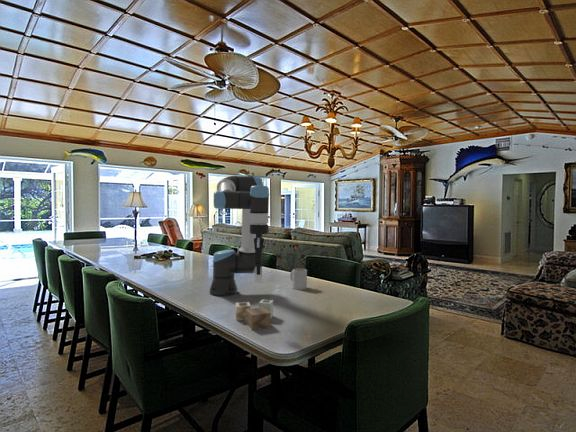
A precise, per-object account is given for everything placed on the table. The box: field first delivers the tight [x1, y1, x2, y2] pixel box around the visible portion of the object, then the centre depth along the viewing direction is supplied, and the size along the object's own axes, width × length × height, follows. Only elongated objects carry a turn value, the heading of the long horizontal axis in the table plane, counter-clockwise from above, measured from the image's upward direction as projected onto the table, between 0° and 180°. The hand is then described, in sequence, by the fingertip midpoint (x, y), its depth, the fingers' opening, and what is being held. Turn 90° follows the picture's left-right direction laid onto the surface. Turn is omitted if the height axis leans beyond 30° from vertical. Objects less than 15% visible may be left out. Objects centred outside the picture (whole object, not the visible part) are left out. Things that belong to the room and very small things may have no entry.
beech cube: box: [235, 301, 252, 321], centre depth 148 cm, size 6×6×6 cm
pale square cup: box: [258, 299, 274, 319], centre depth 150 cm, size 5×5×7 cm
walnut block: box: [244, 307, 272, 330], centre depth 140 cm, size 8×8×6 cm
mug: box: [289, 267, 308, 291], centre depth 204 cm, size 12×8×11 cm
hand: (258, 282), depth 139 cm, fingers closed
